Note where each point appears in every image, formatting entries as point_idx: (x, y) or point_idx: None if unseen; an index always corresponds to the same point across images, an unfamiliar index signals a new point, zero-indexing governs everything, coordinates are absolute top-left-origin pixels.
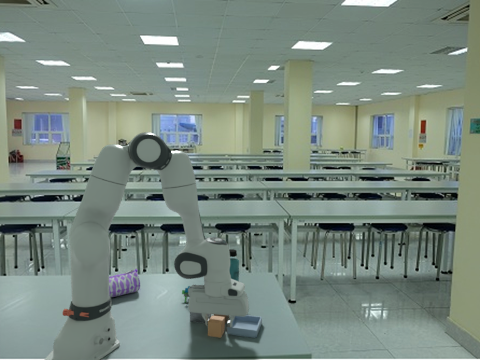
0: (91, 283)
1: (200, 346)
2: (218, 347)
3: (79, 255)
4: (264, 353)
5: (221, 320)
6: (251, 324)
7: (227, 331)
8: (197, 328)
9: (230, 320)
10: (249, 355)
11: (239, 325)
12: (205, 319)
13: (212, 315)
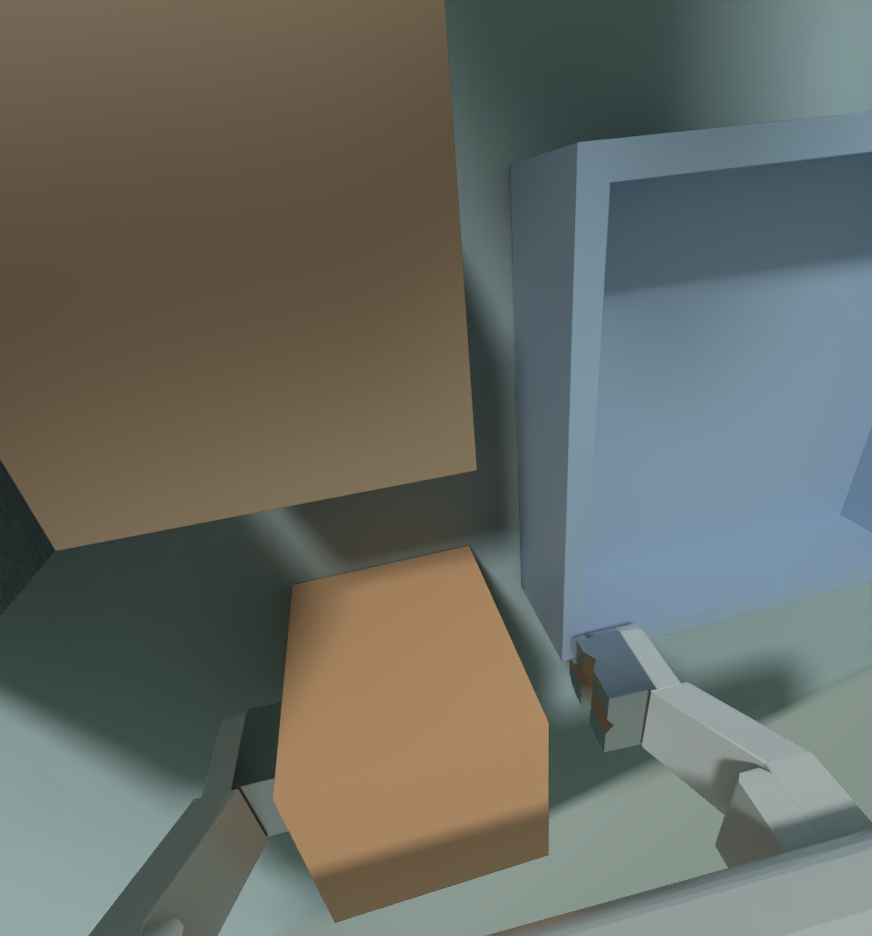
0: None
1: None
2: None
3: None
4: (858, 662)
5: (528, 812)
6: (825, 270)
7: (538, 608)
8: (92, 652)
9: (647, 693)
10: None
11: (651, 383)
12: (232, 876)
13: (285, 795)
